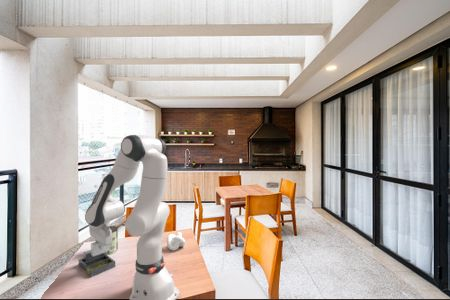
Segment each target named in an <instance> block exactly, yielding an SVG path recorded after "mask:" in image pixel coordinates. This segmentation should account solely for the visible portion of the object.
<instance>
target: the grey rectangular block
mask: <svg viewBox="0 0 450 300" xmlns="http://www.w3.org/2000/svg"><path fill="white" fill-rule="evenodd" d="M100 246H101V243H100V242H99V241H97V242H96V241H94V242H91V243H90V250H91V255H92V256H96V255H99V254H102V253H104V252H107V251H109V245H107V246H105V249H104V250H100Z"/></svg>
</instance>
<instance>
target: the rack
mask: <svg viewBox="0 0 450 300" xmlns="http://www.w3.org/2000/svg"><path fill="white" fill-rule="evenodd" d="M78 267H80V268H81V269H82V271H84V273H85V274H87V275H88V276H89V277H90V278H92V277H95V276H97V275H100V274H102V273H104V272H107V271H109V270H112V269H113V268H116V260H114V259H112V257H110V256H109V255H106V254H105V253H102V254H99V255H96V256H92V255H91V249H90V250H87V251H84V252H83V258H80V259H78Z"/></svg>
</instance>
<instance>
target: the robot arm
mask: <svg viewBox="0 0 450 300" xmlns="http://www.w3.org/2000/svg"><path fill="white" fill-rule="evenodd" d="M166 144H167V143H166V142H165V141H164V140H163V139H162V138H159V137H152V136H148V135H141V134H140V135H139V134H138V135H136V134H130V135H127V136H125V137H124V138H123V139H122V140H121V142H120V149H119V150H118V153H117V155H116V158H115V161H114V164H113V166H112V168H111V170H110V171H109V172H108V173H107V174H106V175H105V176H104V177H103V179H102V181H101V183H100V184H99V187H98V189H97V191H96V193H95V194H94V195H93V197H92V201H91V204H90V205H89V206H88V207H87V209H86V211H85V214H84V218H85V219H84V221H85V222H86V224H88V225H89V227H88V228H89V235H90V236H91V237H92V238H93V239H95V240H94V241H95V242H97V241H99V242H100V243H101V246H100V250H104V249H105V246H107V245H110V244H112V231H111V229H110V228H109V227H108V226H111V221H113V220H117V219H119V218H122V217H123V215H124V214H125V211H126V207H125V203H124V202H123V201H122V200H119V199H117V198H114V197H113V196H112V193H113V192H114V190H116V189H117V188H119V187H120V186H123V185H124V184H126V183H129V182H130V181H132V180H133V179H134V178H135V176H136V175H137V172H138V170H139V166H140V162H141V163H142V173H141V179H140V180H141V181H140V188H139V193H138V196H137V198H136V201H135V203H134V206H133V209H132V211H131V212H130V214H129V215H128V216H127V218H126V219H125V223H124V226H125V230H126V232H127V233H128V234H129V235H130V236H132V237H135V238H136V237H139V238H138V241H137V242H136V259H135V270H136V271H135V273H134V276H133V279H132V289H131V294H130V295H129V300H177V299H178V297H179V296H180V295H181V294H180V293H181V291H180V290H179V288H178V287H176V285H175V282H174V275H173V273H172V272H171V273H169V271H168V268H167V267H166V266H165V265H166V262H165V260H164V256H163V239H164V238H163V237H164V232H165V230H166V229H165V228H166V224H167V220H168V218H169V216H170V212H171V210H170V206H169V205H168V204H167V203H166V202H165V201H162V199H163V198H164V197H165V193H166V187H167V182H168V181H167V180H168V158H167V156H166V152H167V145H166Z"/></svg>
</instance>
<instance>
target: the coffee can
mask: <svg viewBox="0 0 450 300" xmlns="http://www.w3.org/2000/svg"><path fill="white" fill-rule="evenodd" d="M108 227H109V228H110V229H111V231H112V244H110V245H109V251H107V252H104V253H105V254H106V255H107V256H109V255H112V254H115V253H116V252H117V251H118V250H119V248H118V246H119V244H118V243H119V240H118V239H119V238H118V232H119V231H118V229H119V228H118V226H115V225H109V226H108Z"/></svg>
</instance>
